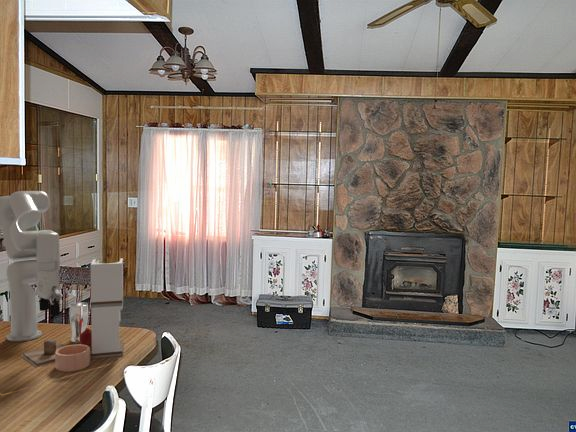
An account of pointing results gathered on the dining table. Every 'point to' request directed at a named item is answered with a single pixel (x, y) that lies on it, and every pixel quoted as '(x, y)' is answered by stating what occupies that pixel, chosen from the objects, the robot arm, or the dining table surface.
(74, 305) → the beer glass
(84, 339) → the onion
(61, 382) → the dining table surface
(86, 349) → the bowl
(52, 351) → the lid
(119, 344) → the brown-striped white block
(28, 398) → the dining table surface
